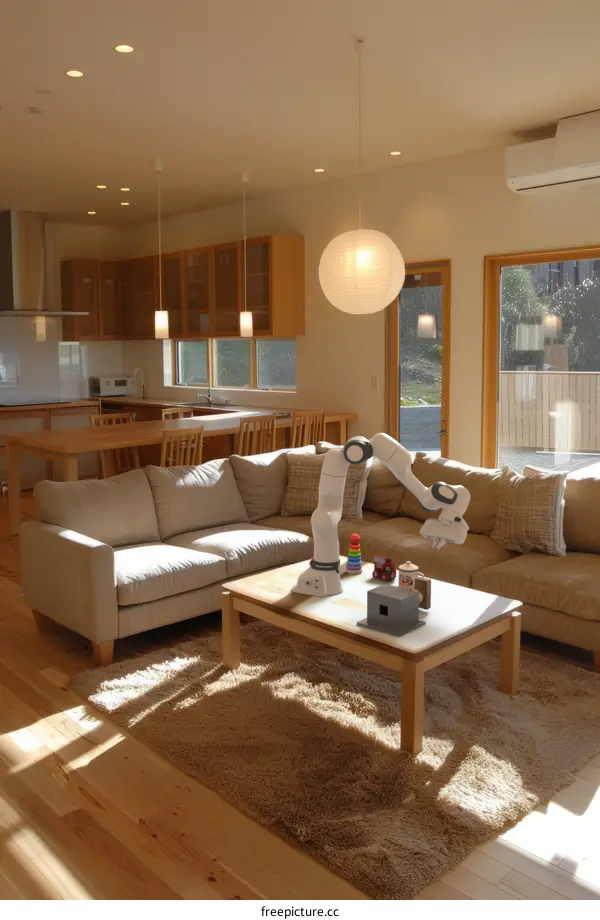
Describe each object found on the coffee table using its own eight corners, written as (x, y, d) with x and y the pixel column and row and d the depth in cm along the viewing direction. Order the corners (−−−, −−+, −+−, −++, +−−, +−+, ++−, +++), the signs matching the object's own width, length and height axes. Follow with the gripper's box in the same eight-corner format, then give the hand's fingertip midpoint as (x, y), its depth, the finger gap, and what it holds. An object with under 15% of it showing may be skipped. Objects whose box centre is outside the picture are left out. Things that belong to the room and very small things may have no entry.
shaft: (417, 604, 336) (418, 576, 334) (431, 608, 332) (431, 579, 330) (387, 617, 321) (387, 588, 319) (400, 621, 316) (401, 591, 314)
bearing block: (384, 613, 330) (384, 581, 328) (425, 624, 317) (426, 592, 315) (356, 624, 317) (356, 592, 315) (398, 637, 304) (399, 603, 302)
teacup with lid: (394, 588, 362) (395, 562, 361) (402, 582, 370) (402, 557, 368) (420, 592, 357) (420, 566, 355) (427, 586, 364) (428, 561, 363)
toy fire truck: (390, 583, 369) (390, 561, 368) (369, 577, 378) (369, 556, 376) (399, 580, 374) (400, 558, 373) (378, 574, 383) (379, 553, 381)
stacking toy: (352, 575, 381) (353, 536, 378) (342, 571, 387) (342, 533, 384) (365, 572, 386) (365, 534, 383) (354, 569, 392) (355, 531, 389)
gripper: (425, 513, 346) (411, 539, 340) (467, 520, 332) (453, 548, 327) (430, 521, 350) (417, 548, 344) (472, 528, 336) (459, 556, 331)
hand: (435, 548), depth 335 cm, fingers closed
